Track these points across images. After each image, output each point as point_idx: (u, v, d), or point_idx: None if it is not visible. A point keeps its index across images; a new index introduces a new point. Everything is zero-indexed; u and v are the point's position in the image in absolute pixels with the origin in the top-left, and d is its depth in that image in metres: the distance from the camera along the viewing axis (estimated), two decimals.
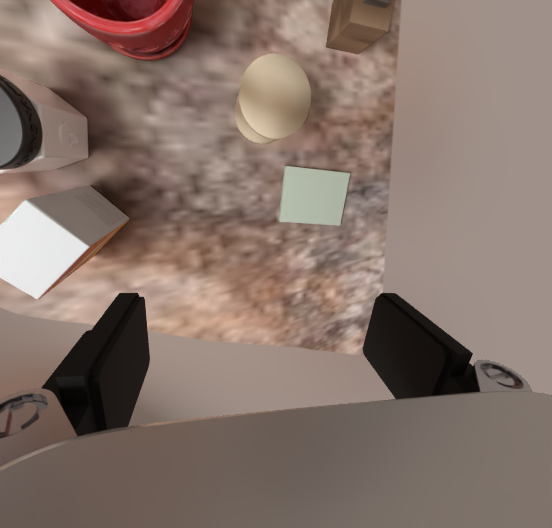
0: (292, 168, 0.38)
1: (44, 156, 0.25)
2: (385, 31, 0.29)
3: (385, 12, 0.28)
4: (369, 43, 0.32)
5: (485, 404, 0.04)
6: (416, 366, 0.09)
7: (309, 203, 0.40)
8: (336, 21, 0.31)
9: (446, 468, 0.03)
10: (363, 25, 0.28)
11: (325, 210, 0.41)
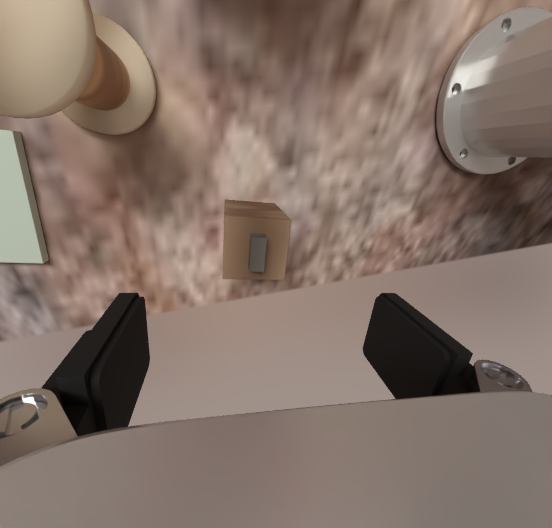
0: (12, 146, 0.19)
1: None
2: None
3: (243, 269, 0.19)
4: None
5: (485, 404, 0.04)
6: (416, 366, 0.09)
7: None
8: (246, 205, 0.22)
9: (446, 467, 0.03)
10: None
11: None
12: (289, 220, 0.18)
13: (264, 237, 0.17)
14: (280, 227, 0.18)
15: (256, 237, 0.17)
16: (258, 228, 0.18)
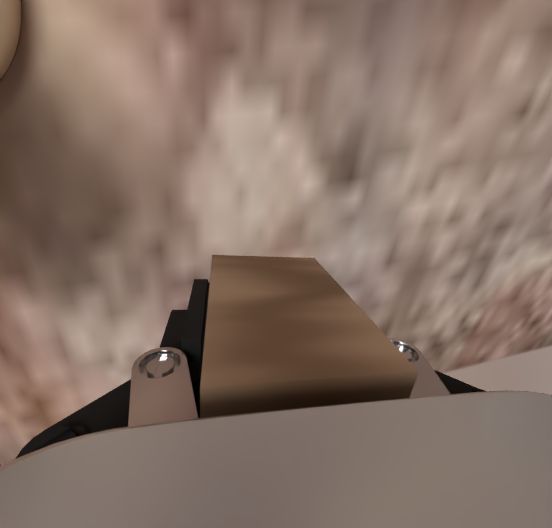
0: None
1: None
2: None
3: None
4: None
5: (485, 404, 0.04)
6: None
7: None
8: (262, 280, 0.09)
9: (446, 467, 0.03)
10: None
11: None
12: (411, 371, 0.06)
13: None
14: (383, 394, 0.06)
15: None
16: (314, 404, 0.05)
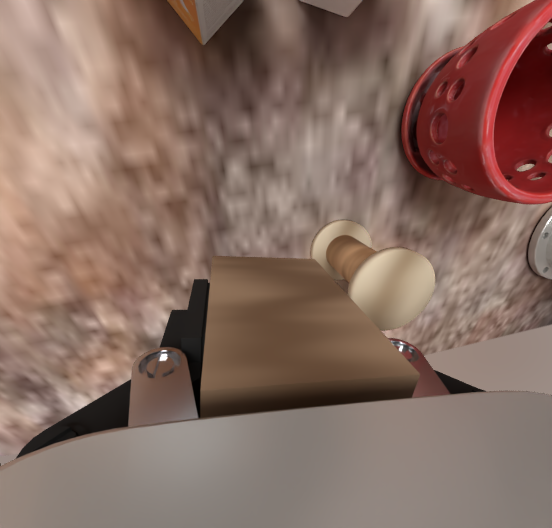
0: None
1: None
2: None
3: None
4: None
5: (485, 404, 0.04)
6: None
7: None
8: (263, 280, 0.09)
9: (446, 469, 0.03)
10: None
11: None
12: (412, 373, 0.06)
13: None
14: (384, 397, 0.06)
15: None
16: None
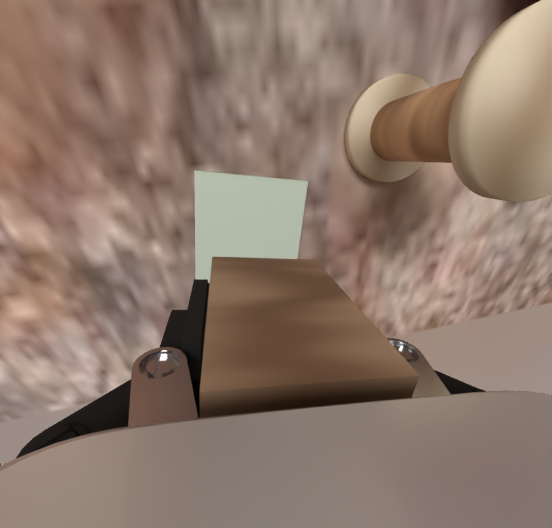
0: (302, 195, 0.20)
1: None
2: None
3: None
4: None
5: (485, 404, 0.04)
6: None
7: (237, 235, 0.20)
8: (262, 281, 0.09)
9: (446, 468, 0.03)
10: None
11: None
12: (412, 374, 0.06)
13: None
14: (384, 399, 0.06)
15: None
16: None
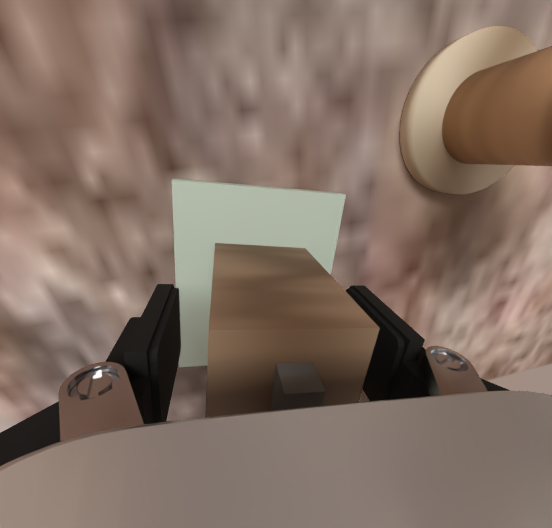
0: (337, 215, 0.13)
1: None
2: None
3: None
4: None
5: (485, 404, 0.04)
6: (377, 353, 0.09)
7: None
8: (258, 263, 0.11)
9: (446, 467, 0.03)
10: None
11: None
12: (374, 327, 0.07)
13: (318, 387, 0.06)
14: (351, 346, 0.07)
15: (297, 392, 0.06)
16: (296, 350, 0.07)
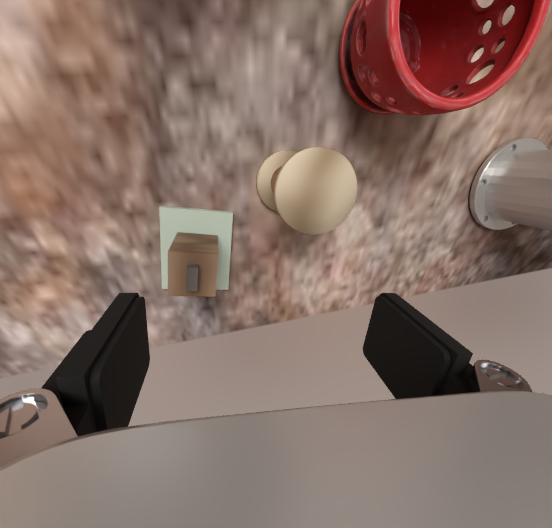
0: (230, 221, 0.31)
1: None
2: (168, 292, 0.26)
3: (183, 289, 0.26)
4: None
5: (485, 404, 0.04)
6: (416, 366, 0.09)
7: None
8: (192, 239, 0.29)
9: (446, 468, 0.03)
10: (168, 267, 0.25)
11: None
12: (216, 254, 0.25)
13: (196, 267, 0.24)
14: (210, 259, 0.25)
15: (190, 267, 0.24)
16: (193, 259, 0.25)
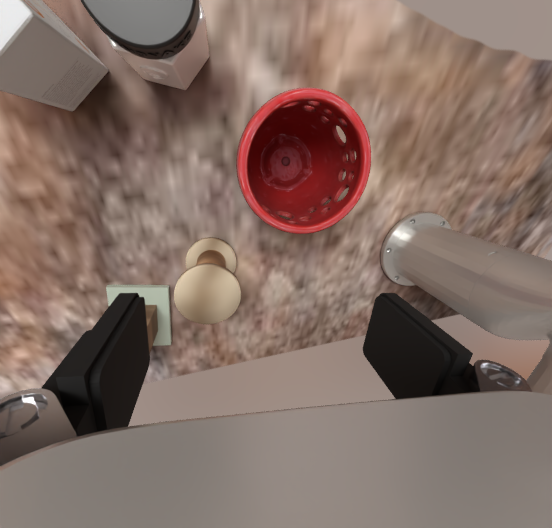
0: (166, 294, 0.38)
1: (114, 48, 0.21)
2: None
3: None
4: None
5: (485, 404, 0.04)
6: (416, 366, 0.09)
7: None
8: None
9: (446, 468, 0.03)
10: None
11: None
12: None
13: None
14: None
15: None
16: None
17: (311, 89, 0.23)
